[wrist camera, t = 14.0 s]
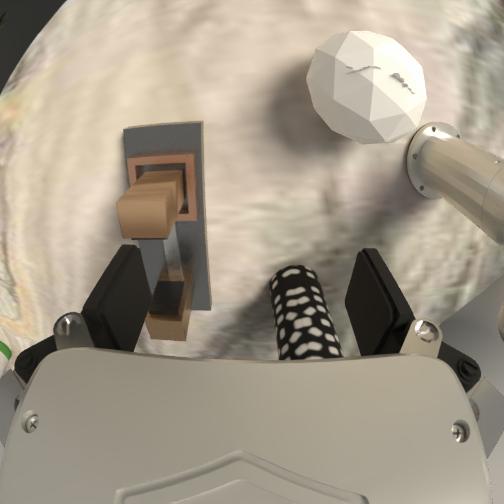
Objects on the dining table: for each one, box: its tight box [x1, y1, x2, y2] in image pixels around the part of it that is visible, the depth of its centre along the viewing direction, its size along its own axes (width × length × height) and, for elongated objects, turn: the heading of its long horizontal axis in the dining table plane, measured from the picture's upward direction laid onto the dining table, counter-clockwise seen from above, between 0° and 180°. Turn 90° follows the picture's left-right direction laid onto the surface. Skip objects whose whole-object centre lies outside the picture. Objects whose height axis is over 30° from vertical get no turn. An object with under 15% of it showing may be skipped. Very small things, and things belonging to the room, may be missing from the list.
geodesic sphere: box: [306, 31, 426, 144], centre depth 23 cm, size 14×14×14 cm
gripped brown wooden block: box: [116, 170, 185, 240], centre depth 30 cm, size 5×5×10 cm
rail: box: [123, 121, 212, 341], centre depth 34 cm, size 10×30×12 cm, turn 178°
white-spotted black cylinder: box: [270, 265, 344, 360], centre depth 38 cm, size 8×8×20 cm
